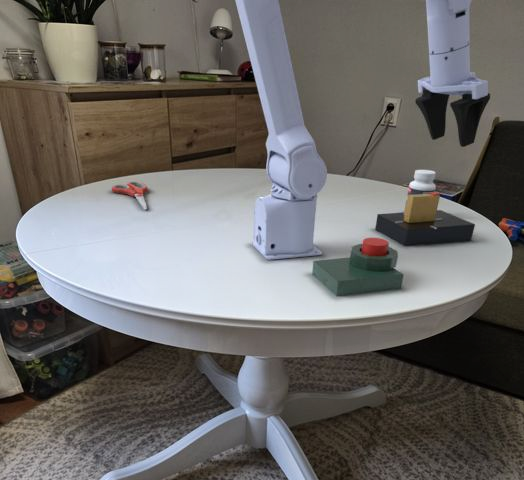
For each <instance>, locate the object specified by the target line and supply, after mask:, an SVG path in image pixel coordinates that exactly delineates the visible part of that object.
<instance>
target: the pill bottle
mask: <svg viewBox="0 0 524 480" xmlns="http://www.w3.org/2000/svg"><path fill="white" fill-rule="evenodd" d="M436 173H437V172H436V171H435V170H430V169H416V170H414V175H413V179H414V180H412V181H411V182H410V183H409V184H408V189H407V195H406V200H405V205H404V211H403V212H405V211H406V205H407V200H408V195H418V194H430V193H432V192H435V193H436V190H437V189H436V188H437V186H436V184H435V183H434V182H433V181H434V180H435V179H436Z"/></svg>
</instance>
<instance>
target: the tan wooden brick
mask: <svg viewBox="0 0 524 480" xmlns="http://www.w3.org/2000/svg"><path fill="white" fill-rule="evenodd" d="M440 197H441V195H440V194H439V193H437V192H436V191H435V192H432V193H430V194H418V195H408V200H407V199H406V200H407V205H406V204H405V205H406V211H405V216H404V221H406V222H408V223H415V222H429V221H435V217H436V212H437V210H438V208H439V204H440Z"/></svg>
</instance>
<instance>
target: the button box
mask: <svg viewBox="0 0 524 480" xmlns="http://www.w3.org/2000/svg"><path fill="white" fill-rule="evenodd" d="M361 250H362V243H358V244H356V245H354V246H351V249H350V257H339V258H328V259H319V260H313V261H312V272H311V274H312V276H313V277H314V278H315V279H316V280H318V282H320V283H321V284H322V285H323V287H325V288H327V290H329V292H331V293H332V294H333V295H334V296H335V297H342V296H344V297H345V296H350V295H351V296H353V295H359V294H367V293H369V294H370V293H377V292H386V291H392V290H402V286H403V280H404V276H405V275H404V273H402V272H401V271H399V270H398V269H396V267H397V263H398V258H399V253H398V250H396V249H394V248H392V247H391V246H388V251H387V255H386V256H371V255H367V254H363V253H362V252H361Z"/></svg>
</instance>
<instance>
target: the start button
mask: <svg viewBox="0 0 524 480" xmlns="http://www.w3.org/2000/svg"><path fill="white" fill-rule="evenodd" d="M361 244H362V250H361V252H362V253H363V254H367V255H371V256H386V255H387V251H388V247H389V244H390V242H389V241H388V240H387V239H384V238H379V237H366V238H364V239H363V240H362V243H361Z"/></svg>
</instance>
